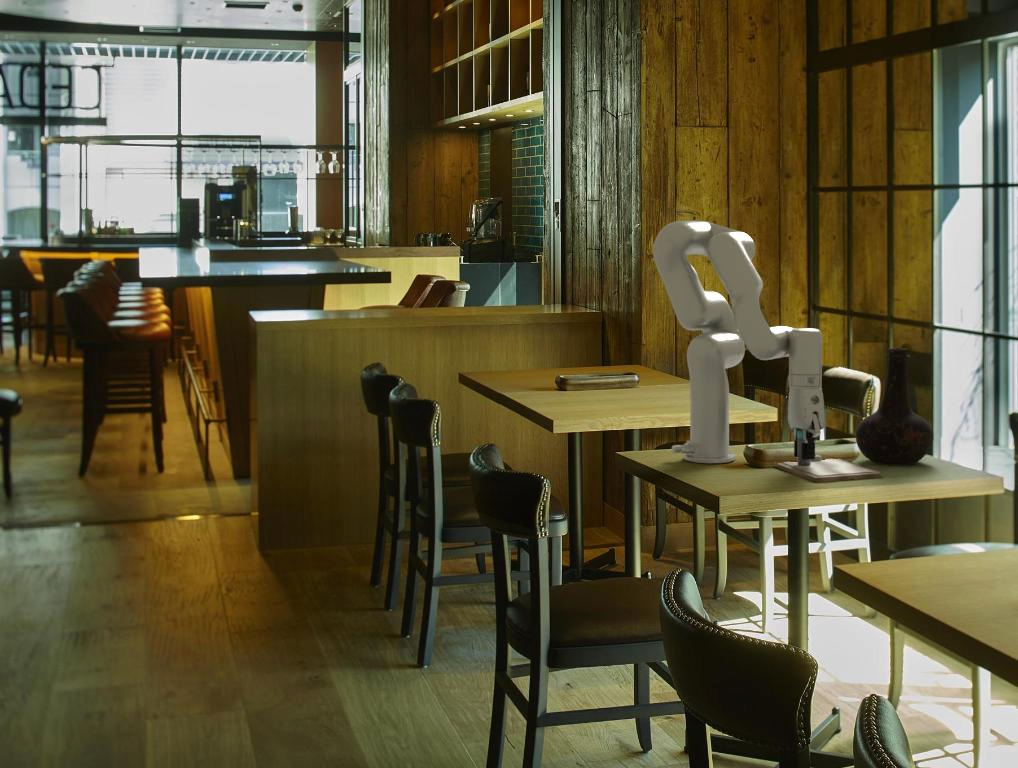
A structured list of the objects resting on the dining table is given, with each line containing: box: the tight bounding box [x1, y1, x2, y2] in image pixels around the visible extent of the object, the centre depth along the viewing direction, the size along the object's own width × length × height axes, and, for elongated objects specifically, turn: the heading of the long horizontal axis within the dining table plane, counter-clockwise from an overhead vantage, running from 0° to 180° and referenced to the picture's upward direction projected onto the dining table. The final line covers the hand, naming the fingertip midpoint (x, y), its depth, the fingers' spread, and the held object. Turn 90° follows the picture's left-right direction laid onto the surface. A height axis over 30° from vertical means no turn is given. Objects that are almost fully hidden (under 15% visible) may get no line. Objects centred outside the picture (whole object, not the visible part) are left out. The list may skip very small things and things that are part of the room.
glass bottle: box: [855, 347, 934, 466], centre depth 305 cm, size 18×18×28 cm
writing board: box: [777, 454, 883, 483], centre depth 296 cm, size 17×20×2 cm
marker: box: [797, 430, 811, 466], centre depth 298 cm, size 3×3×8 cm
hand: (804, 457), depth 298 cm, fingers closed on marker, 2 cm apart
